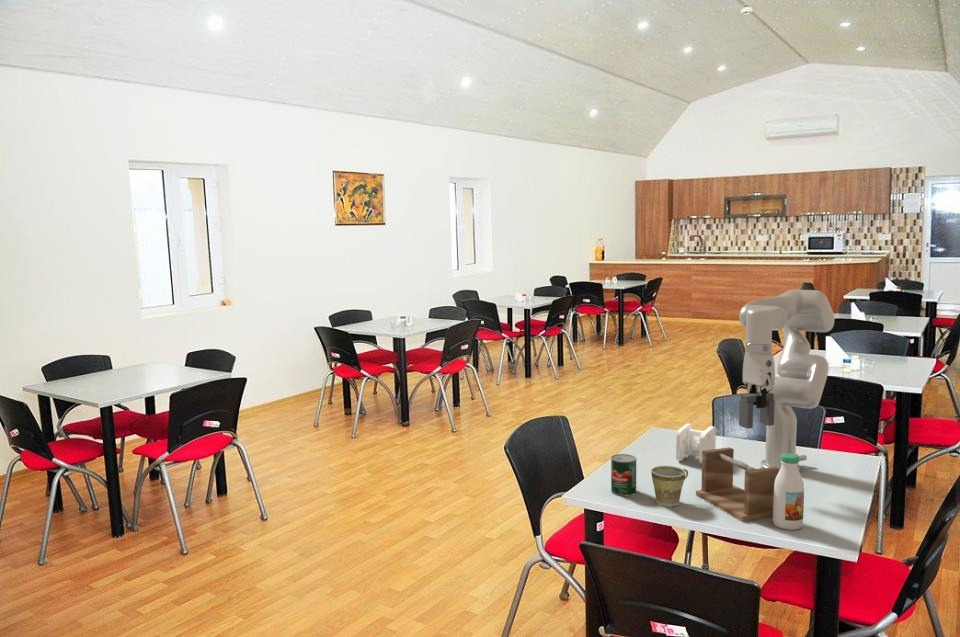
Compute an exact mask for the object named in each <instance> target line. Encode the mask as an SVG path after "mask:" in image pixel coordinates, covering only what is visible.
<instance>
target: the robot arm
mask: <svg viewBox="0 0 960 637" xmlns="http://www.w3.org/2000/svg"><path fill="white" fill-rule="evenodd" d="M738 319H739V323H740V325H741V326H742V327H744V328H745V352H744V356H743V363H742V383H743V384H744V385H745V387H746V392H747V394H751V393H758V395H757V400H756V402H753V406H756V409H760V408H765V407H766V395H768V392H770V393H773V394H774V400H775V406H774V425H771V426H768V425H765V426H766V428H765V430H766V431H765V434H766V435H765V459H763V460H761V462H760V467H761V468H767V467H776V468H779V471H780V469H781V465H782V463H781V455H782V454H785V453H790V454H795V455H798V454H797V451H796V450H797V425H798V421H797V420H798V419H797V416H796V413H795V411H794V410H793V408H792V407H795V408H801V409H809V410H810V409H815V408H817V406H818V405H819V404H820V401H821V398H822V395H823V392H824V388H825V386H826V382H827V379H828V373H829V364H828V360H827V359H826V358H825V357H824V356H822V355H819V354H818V355H817V354H810V352H811V344H810V342H809V341H808V339H807V338H806V336H804V334H803V333H802V332H803V331H804V332H814V333H815V332H816V333H828V332H830V331H832V329H833V328H834V325H835V314H834V312H833V308H832V306H831V303H830V301H829V299H828V298H827V296H826V295H825V293H823V291H820V290H816V289H790V290H786V291H785V292H783V293H781V294H779V295H778V296H774V297H773V296H772V297H769V298H768V297H767V298H761V299H756V300H752V301H750V302H747V303H746V304H744V306H742V307H741V309H740V311H739V316H738ZM779 330H782V334H783V338H784V345H783V348H782V352H781V354H780V357H779V359H778V363H777V366H775V358H774V355H773V353H772V351H773V350H772V349H773V348H772V346H773V343H772V342H773V340H772V337H773V331H779ZM775 368H776V369H775ZM776 372H777V375H778V376H776ZM798 456H799V462H804V461H807V459H808V457H807V455H806V454H801V455H798ZM798 470H799V471H800V470H801V465H800V463H799V464H798Z"/></svg>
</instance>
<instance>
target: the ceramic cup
mask: <svg viewBox="0 0 960 637" xmlns="http://www.w3.org/2000/svg"><path fill="white" fill-rule="evenodd" d="M650 473H651V479H652V484H653V489H654V495H655V501H656V504H657V503H658V504H657V505H659V504H660V505H659V506H661V505H662V506H661V507H665V506H674V507H676V505H678V506H679V505H680V499H681V495H682V489H683V486H684V482H685V480H686V479H687V478H688V476H689V471H688V469H686V468H680V467H678V466H674V465H658V466H654V467H652V468H651V469H650Z"/></svg>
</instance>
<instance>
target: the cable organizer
mask: <svg viewBox="0 0 960 637" xmlns="http://www.w3.org/2000/svg"><path fill="white" fill-rule="evenodd" d="M717 433H718V429H717V428H716V427H715V426H713V425H709V426H708V427H707V428H706V429H705V430H699V429H693V425H692V423H688V422H686V424H684V425H682V427H680V428H679V429H678V430H677V432H676V436H675V439H676V440H675V442H676V443H675V449H676V450H675V459H676V461H678V462H679V461H681V462H683V461H684V459H685V458H687V460H688V458H689V456H694V457H695V458H694V459H695V461H696V460H697V459H698V462H699V464H700V465H702V451H705V450H713V449H716V447H717V446H716V438H717Z"/></svg>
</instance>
